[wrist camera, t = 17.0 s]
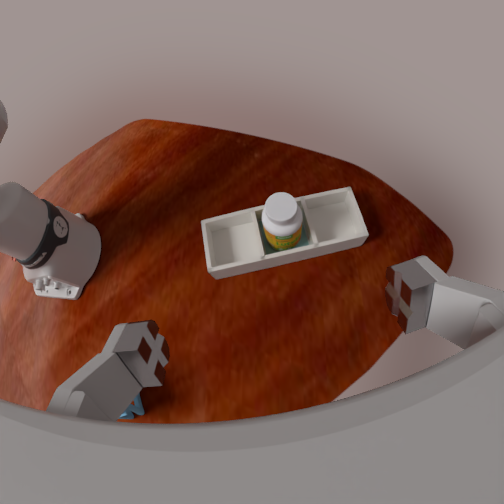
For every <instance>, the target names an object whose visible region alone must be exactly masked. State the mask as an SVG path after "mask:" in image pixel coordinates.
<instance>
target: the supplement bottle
mask: <svg viewBox="0 0 504 504" xmlns="http://www.w3.org/2000/svg"><path fill="white" fill-rule="evenodd" d="M302 220H303V216H302V211H301V209H300V207H299V206H298V204H297V202H296V200H295V198H294V197H293V196H291V195H290V194H288V193H284V192H278V193H275V194H273V195H271V196H270V197H269V198H268V199H267V201H266V203H265V207H264V209H263V212H262V223H263V228H264V232H265V236H266V240H267V242H268V244H269V245H270V246H271V247H272V248H273V249H275V250H277V251H285V250H290V249H294V248H295V247H296V246H297V245H298V243H299V242H300V239H301V231H302Z"/></svg>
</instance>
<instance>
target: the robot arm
mask: <svg viewBox="0 0 504 504" xmlns="http://www.w3.org/2000/svg"><path fill="white" fill-rule="evenodd" d="M7 127H8V120H7V113H6V110H5V107H4V105H3V104H2V102H1V101H0V143H1V141H2V139H3V136H4V134H5V132H6V130H7ZM0 252H2V253H4V254H7V255H9V256H12V260H13V257H14V261H15V262H16V260H17V261H18V262H19V263H21V265H22V266H23V272H24V276H25V278H26V280H27V281H29V282H31V283H33V286H34V290H35V293H36V295H38V296H42V297H51V298H62V299H73V300H76V299H78V298H79V296H80V294H81V292H82V289H83V286H84V285H85V283H86V282H87V281H88V280H89V279H90V277H91V276H92V274H93V273H94V271H95V269H96V267H97V264H98V261H99V257H100V252H101V239H100V235H99V232H98V230H97V228H96V227H95V226H94V225H92V224H91V223H88V222H87V221H86V220H85V218H84V217H83V215H81V214H79V213H77V214H75V215H74V214H73V213H71V212H69V211H67V210H65V209H63V208H61V207H59V206H56V207H55V206H54V205H53V204H52V203H50V202H49V201H46V200H44V199H39V198H38V197H36V196H35V195H34V194H32V193H31V192H29V191H28V190H27V189H25V188H24V187H22V186H21V185H20V184H18V183H15V182H8V183H5V184H2V185H1V186H0ZM386 279H387V280H388V281H389V283H388V285H387V287H386V288H385V298H386V303H387V306H388V308H389V310H390V312H391V313H392V314H394V315H396V316H398V321H397V322H398V324H399V325H400V327H401V328H402V330H403V331H404V333H405V334H408V333H411V332H413V331H416V330H419V329H421V328H424V327H426V328H427V329H429V330H431V331H433V332H434V333H436V334H438V335H440V336H442V337H443V338H445V339H447V340H449V341H450V342H452V343H454V344H456V345H458V346H460V347H461V348H463V349H465V350H463V351H461V352H459V353H457V354H456V355H453V356H452V357H450V358H448V359H446V360H444V361H441V362H439V363H437V364H435V365H433V366H431V367H429V368H427V369H424V370H422V371H420V372H417V373H415V374H413V375H410V376H408V377H405V378H403V379H400V380H398V381H395V382H392V383H390V384H387V385H384V386H382V387H379V388H376V389H373V390H370V391H367V392H364V393H361V394H358V395H354V396H351V397H348V398H344V399H341V400H337V401H334V402H330V403H326V404H322V405H318V406H314V407H309V408H305V409H300V410H296V411H291V412H285V413H280V414H274V415H268V416H262V417H255V418H248V419H240V420H231V421H220V422H207V423H187V424H144V423H125V422H116V421H117V420H118V418H119V417H120V416H121V415H122V413H123V412H124V411H125V410H126V408H127V407H128V406H129V405H130V403H131V402H132V401H133V400H134V398H135V397H136V396H137V395H138V393H139V392H140V391H141V390H142V387H153V386H163V382H164V378H165V374H166V371H165V369H164V368H163V367H164V366H165V365H166V364H167V363H168V361H169V357H170V355H169V347H168V344H167V341H166V340H165V338H164V337H163V336H161V335H160V334H158V331H159V327H158V326H157V324H156V322H155V321H153V320H145V321H138V322H130V323H123V324H118V325H116V326H115V327H114V329H113V331H112V333H111V335H110V337H109V339H108V341H107V343H106V345H105V347H104V349H103V351H102V353H101V354H97V355H96V356H95V357H94V358H92V359H91V360H90V361H89V362H88V363H86V364H85V365H84V366H83V367H82V368H80V369H79V370H78V371H77V372H76V373H74V374H73V375H72V376H71V377H70V378H68V379H67V380H66V381H65V382H64V383H63V384H61V385H60V386H59V387H58V388H57V389H56V391H55V393H54V395H53V397H52V399H51V401H50V404H49V406H48V408H47V410H46V411H42V410H38V409H34V408H30V407H26V406H22V405H19V404H15V403H12V402H8V401H5V400H3V399H0V504H504V291H501V290H498V289H494V288H491V287H488V286H485V285H481V284H478V283H475V282H471V281H468V280H464V279H461V278H457V277H454V276H451V277H448V276H447V275H446V274H445V273H444V272H443V271H442V270H441V269H440V268H439V267H438V266H437V265H435V264H434V263H433V262H432V261H431V260H430V259H429V258H427V257H426V256H420V257H417V258H414V259H411V260H409V261H406V262H403V263H399V264H396V265H393V266H390V267H387V270H386Z"/></svg>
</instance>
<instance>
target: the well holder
mask: <svg viewBox="0 0 504 504" xmlns="http://www.w3.org/2000/svg"><path fill="white" fill-rule="evenodd" d="M295 200H296V202H297V204H298V206H299V207H300V209H301V211H302V216H303V220H302V231H301V239H300V242H299V243H298V245H297V246H296V247H295V248H294V249H290V250H285V251H277V250H275V249H273V248H272V247H271V246H270V245H269V244H268V242H267V240H266V236H265V232H264V228H263V223H262V212H263V209H264V207H265V205H262V206H258V207H254V208H250V209H245V210H241V211H237V212H233V213H229V214H225V215H221V216H217V217H213V218H209V219H205V220H202V221H201V225H202V233H203V240H204V248H205V255H206V262H207V268H208V273H209V274H211V275H212V276H213V277H214V278H215V279H221V278H226V277H230V276H235V275H239V274H244V273H248V272H252V271H257V270H261V269H266V268H270V267H274V266H279V265H283V264H287V263H292V262H296V261H300V260H304V259H309V258H313V257H317V256H321V255H325V254H329V253H333V252H338V251H342V250H346V249H350V248H354V247H358V246H362V244H363V243H364V241H365V240H366V238H367V237H368V235H369V234H368V231H367V228H366V226H365V223H364V220H363V217H362V215H361V212H360V210H359V207H358V204H357V202H356V199H355V197H354V194H353V192H352V189H351V187H346V188H341V189H336V190H331V191H326V192H321V193H317V194H312V195H307V196H302V197H298V198H295Z"/></svg>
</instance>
